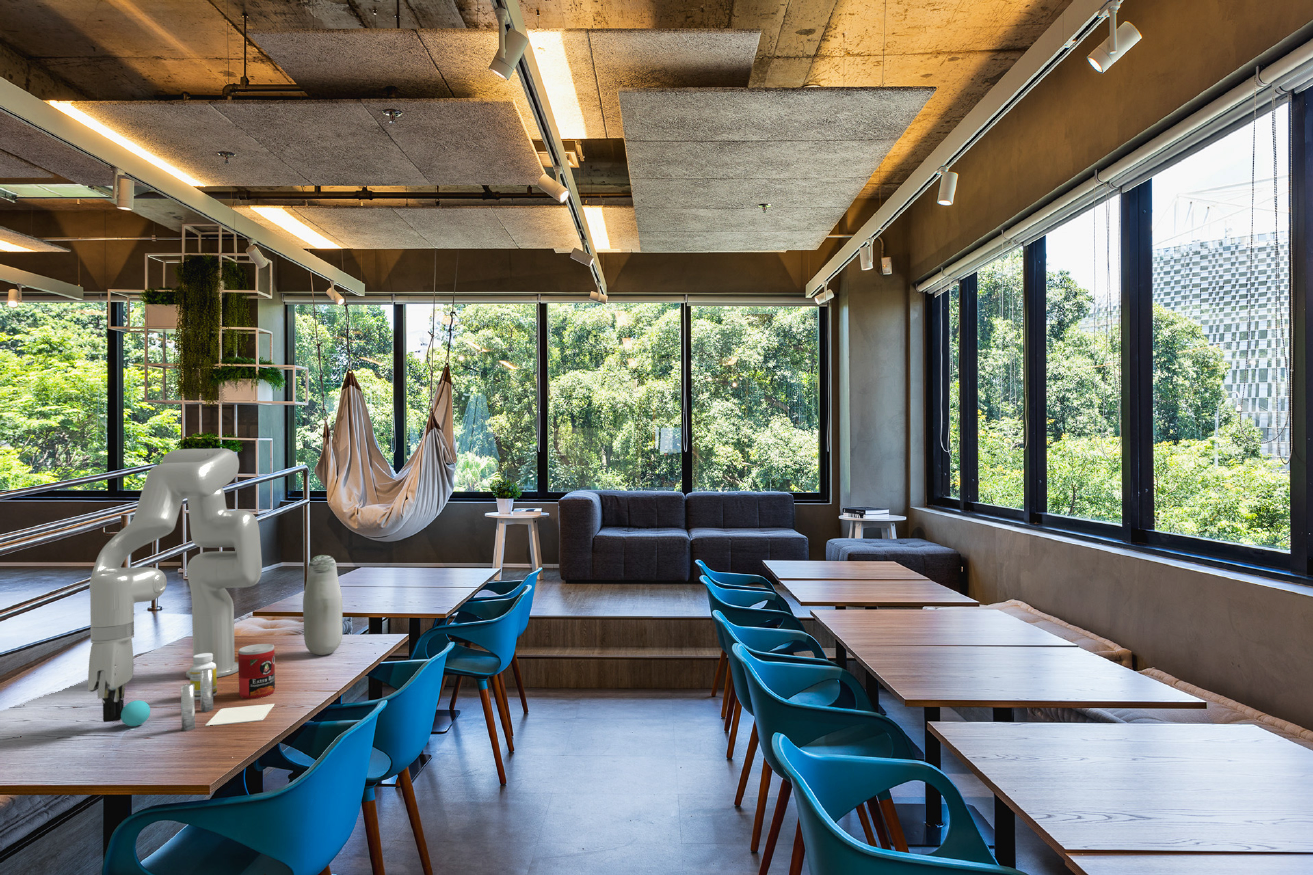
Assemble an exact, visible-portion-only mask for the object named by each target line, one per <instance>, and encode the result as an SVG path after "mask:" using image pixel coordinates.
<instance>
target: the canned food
mask: <svg viewBox="0 0 1313 875" xmlns="http://www.w3.org/2000/svg"><path fill="white" fill-rule="evenodd" d="M237 653H238V654H237V658H238V660H237V662H238V669H239V671H238V694H239V697H240V698H242V699H245V700H255V699H260V698H261V697H262V698H264V697H265V698H266V697H269V696H271V695H273V693H275V690H276V689H275V688H276V679H275V678H276V677H275V676H276V672H275V670H276V669H275V668H276V666H275V664H276V663H275V661H276V660H275V659H276V658H275V653H276V652H275V644H271V643H258V644H250V645H247V646H243V647H241V648H239V649H238V652H237ZM268 695H269V696H268Z"/></svg>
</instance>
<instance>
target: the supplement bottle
mask: <svg viewBox="0 0 1313 875" xmlns="http://www.w3.org/2000/svg"><path fill="white" fill-rule="evenodd" d="M212 660H213V654H212V653H203V654H198V655H195V656H193V655H192V665H191V666H190V668H189V669H190V678H189V680H190V682H189V684H194V692H195V701H197V700H198V701H201V690H200V670H202V669H206V668H212V669H213V697H215V696H216V695H217V693H218V682H217V678H218V677H217V675H216V664H215V663H213V662H212ZM193 663H194V665H193Z"/></svg>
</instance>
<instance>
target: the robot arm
mask: <svg viewBox="0 0 1313 875" xmlns="http://www.w3.org/2000/svg"><path fill="white" fill-rule="evenodd" d="M239 469H240V459H239V456H238V455H237V454H236V453H235V451H233V450H232V449H229V448H183V449H174V450H171V451H169V452H168V451H167V453H166V454H164V455H163V457H162V463H160V464H157V465H154V466H153V467H152V468H151V469H150V470H149V471H148V473H147V476H146V478H145V483H144V484H143V487H142V490H141V493H140V497H139V499H138V503H137V506H136V509H135V512H134V515H133V517H132V520H131V521H130V522H129V524H127V525H126V526H125V527H124V528H122V529H121V530H120V531H118V532H117V533H116V534H115V535H114V536H113V537H112V538H111V539H110V540H109V541H108V542H107V543H106V544H105V545H104V546H103V547H102V549H101V550H100V552H99V554H98V556H97V558H96V560H95V563H94V567H93V569H92V572H91V575H90V581H89V594H90V595H89V598H90V600H89V601H90V610H89V611H90V612H89V614H90V644H91V645H90V646H91V647H90V652H89V659H88V660H89V661H88V674H87V675H88V676H87V689H88V691H89V692H91V693H93V692H94V693H95V691H97V699H101V703H102V720H103V722H104V723H106V722H107V723H108V722H119V721H122V720H121V712H122V709H123V708H124V707H125V705H124V698H125V691H126V690H125V688H126V686H127V685H128V683H129V681H130V680H132V679H133V676H134V669H135V668H134V667H135V666H134V662H135V661H134V648H133V638H134V637H135V622H134V621H135V611H134V609H135V606H134V605H135V603H143V602H151V601H154V600H156V599H158V598H159V597H160V596H162V595H163V594H164V592H165V591H166V588H167V585H168V584H167V583H168V580H167V576H166V574H165V573H164V572H163V571H162V570H160V569H158V568H156V567H150V566H149V567H146V566H144V567H143V566H142V567H122V565H123V563H124V562H125V561H126V559H127V558H128V557H129V556H130V555H131V554H132V553H134V552H135V551H136V550H139V549H140V548H142V547H144V546H145V545H148V544H150V543H153V542H154V541H157V540H159V539H161V538H163V537H166V536H169V534H171V533H172V532H174V530H175V529H176V524H177V521H178V518H179V514H180V511H181V507H182V504H183V502H184V499H186V500H187V506H188V507H187V509H188V519H189V520H188V521H189V530H190V536H191V540H192V542H193V544H194V545H195V546H197V547H200V548H208V549H209V548H234V550H235V551H234V550H233V551H232V550H231V551H229V550H224V551H205V552H204V551H203V552H201V553H198V554H196V555H194V556H192V558H191V559H190V560H189V561H188V564H187V566H186V567H187V568H186V574H187V581H188V584H189V588H190V594H191V614H192V616H191V617H192V620H191V621H192V622H191V623H192V628H191V629H192V657H193V656H195V655H198V654H203V653H212V654H213V660H212V662H213V663H215V664H216V675H217V678H220V677H225V676H229V675H233V674H235V673H237V672H238V673H239V669H238V661H237V662H236V660H235V659H236V657H235V656H236V654H235V652H236V651H235V606H234V600H233V598H232V597H231V594H230V593H229V592H228V590H227V589H231V588H233V589H234V588H235V589H236V588H237V589H238V588H239V589H240V588H249V587H254V586H255V585H256V584H258V582H260V580H261V577H262V572H263V564H262V563H263V561H262V559H263V558H262V547H261V535H260V534H261V533H260V525H259V522H258V520H257V518H256V516H255V515H254V514H253V513H252V512H251V511H248V510H243V509H242V510H241V509H240V510H228V507H227V503H226V495H225V491H224V488H223V487H225V486H227V485H228V484H229V483H231V482H232V481H233V480H234V479H235V478H236V477H237V475H238V473H239ZM193 665H194V663H193V662H192V666H193ZM185 676H186V678H187V679H190V668H189V669H188V670H186V674H185Z"/></svg>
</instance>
